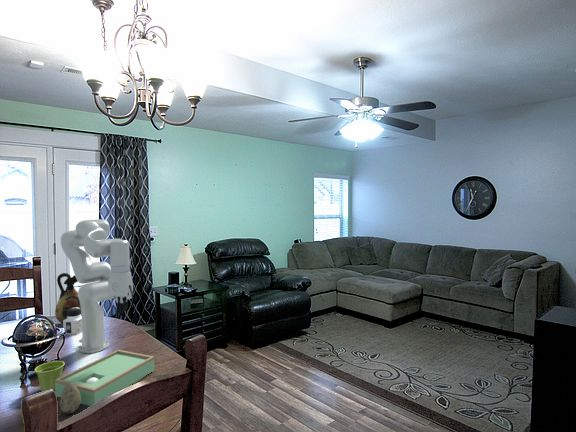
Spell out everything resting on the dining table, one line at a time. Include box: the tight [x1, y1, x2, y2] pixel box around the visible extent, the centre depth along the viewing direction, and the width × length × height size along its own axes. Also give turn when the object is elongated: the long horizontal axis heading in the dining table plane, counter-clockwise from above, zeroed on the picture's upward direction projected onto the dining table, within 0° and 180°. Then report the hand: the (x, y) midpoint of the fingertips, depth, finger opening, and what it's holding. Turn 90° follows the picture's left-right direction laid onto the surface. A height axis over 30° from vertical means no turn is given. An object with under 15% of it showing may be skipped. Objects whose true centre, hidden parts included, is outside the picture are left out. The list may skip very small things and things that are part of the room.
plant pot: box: [34, 360, 66, 392], centre depth 135 cm, size 9×9×9 cm
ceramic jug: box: [54, 272, 82, 327], centre depth 208 cm, size 17×15×30 cm
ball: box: [86, 377, 99, 384], centre depth 132 cm, size 5×5×5 cm
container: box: [62, 307, 82, 335], centre depth 195 cm, size 8×8×13 cm
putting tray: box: [54, 349, 156, 407], centre depth 138 cm, size 20×28×6 cm
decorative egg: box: [59, 383, 81, 415], centre depth 119 cm, size 6×6×10 cm
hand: (122, 311), depth 153 cm, fingers closed
